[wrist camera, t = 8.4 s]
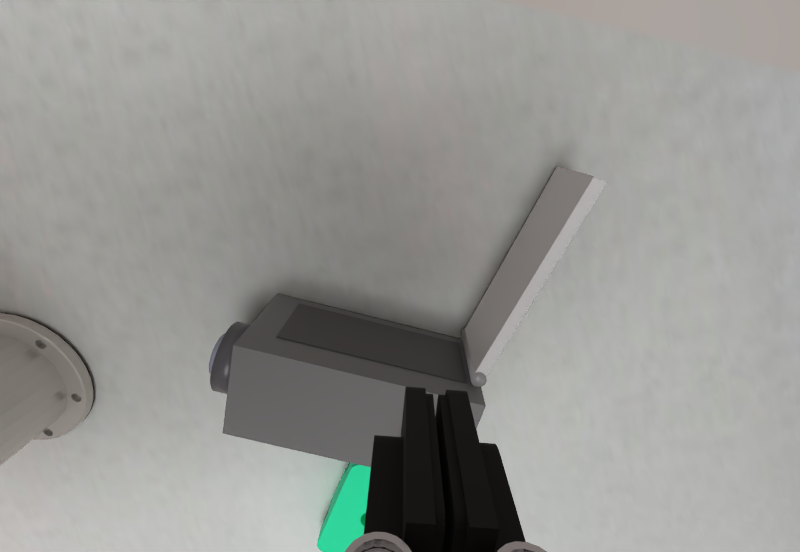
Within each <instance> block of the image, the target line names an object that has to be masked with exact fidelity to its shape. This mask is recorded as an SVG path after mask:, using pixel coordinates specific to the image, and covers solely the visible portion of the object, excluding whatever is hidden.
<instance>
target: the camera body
mask: <svg viewBox="0 0 800 552" xmlns="http://www.w3.org/2000/svg"><path fill="white" fill-rule="evenodd" d="M209 372H210V374H211V378H210V384H211V388H212V390H213V391H217V392H221V393H225V394H227V401H226V410H225V418H224V427H223V433H224V434H228V435H232V436H237V437H241V438H245V439H250V440H254V441H258V442H263V443H267V444H271V445H276V446H280V447H284V448H289V449H293V450H298V451H302V452H306V453H311V454H315V455H319V456H324V457H328V458H332V459H337V460H341V461H345V462H350V463H354V464H358V465H363V466H367V467H371V462H372V452H373V443H374V435H379V436H393V437H401V428H402V418H403V407H404V397H405V388H406V387H419V388H425V389H426V394H433V398H434V408H435V415H436V407H437V400H438V395H439V394H440V395H445V392H446V390H459V391H467V393H468V397H469V401H470V406H471V410H472V414H473V418H474V422H475V427H476V428H477V426H478V423H479V421H480V418H481V416H482V414H483V411H484V409H485V402H484V398H483V394H482V389H481V387H476V386H474V385H473V384H472V383H471V379H470V374H469V369H468V365H467V360H466V355H465V350H464V346H463V341H462V339H458V338H454V337H450V336H446V335H442V334H438V333H434V332H430V331H426V330H422V329H418V328H414V327H410V326H406V325H401V324H397V323H393V322H389V321H385V320H381V319H377V318H373V317H369V316H365V315H361V314H357V313H353V312H349V311H345V310H341V309H337V308H333V307H329V306H325V305H321V304H317V303H313V302H309V301H305V300H301V299H297V298H293V297H289V296H285V295H281V294H277V295H276V296H275V297H274V298H273V299H272V300H271V302H270V303H269V304H268V305H267V306H266V307H265V309H264V310H263V311H262V312H261V313H260V314H259V316H258V317H257V318H256V319H255V320H254V321H253V323H252V324H251V325H249V324H245V323H241V322H236V323H234V324H233V325H232V326H231V327H230V328H229V329H228V331H227V332H226V333H225V334H223V335H222V336H221V337H220V338H219V340H218V341H217V343H216V345H215V347H214V349H213V352H212V355H211V358H210V363H209Z"/></svg>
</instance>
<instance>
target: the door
mask: <svg viewBox="0 0 800 552" xmlns="http://www.w3.org/2000/svg"><path fill="white" fill-rule="evenodd" d="M606 183H607V182H605V181H603V180H601V179H599V178H597V177H594V176H591V175H587V174H583V173H580V172H576V171H572V170H568V169H565V168H561V167H557V168H556V169H555V171H554V173H553V175H552V176H551V178H550V180H549V182H548V183H547V185H546V187H545V189H544V190H543V192H542V194H541V196H540V197H539V199H538V201H537V203H536V205H535V206H534V208H533V210H532V212H531V213H530V215H529V217H528V219H527V220H526V222H525V224H524V226H523V227H522V229H521V231H520V233H519V234H518V236H517V238H516V240H515V242H514V243H513V245H512V247H511V249H510V250H509V252H508V254H507V256H506V257H505V259H504V261H503V263H502V264H501V266H500V268H499V270H498V271H497V273H496V275H495V277H494V279H493V280H492V282H491V284H490V286H489V287H488V289H487V291H486V293H485V294H484V296H483V298H482V300H481V301H480V303H479V305H478V307H477V308H476V310H475V312H474V314H473V316H472V317H471V319H470V321H469V323H468V324H467V326H466V328H464V329H462V331H461V336H462V341H463V346H464V350H465V355H466V360H467V365H468V369H469V374H470V379H471V383H472V384H473V385H474V386H476V387H481V386H483V385H485V383H486V376H487V375H488V373H489V372H490V370H491V368H492V367H493V365H494V364H495V362H496V360H497V359H498V357H499V355H500V354H501V352H502V351H503V349H504V347H505V346H506V344H507V343H508V341H509V339H510V338H511V336H512V335H513V333H514V331H515V330H516V328H517V327H518V325H519V323H520V322H521V320H522V318H523V317H524V315H525V314H526V312H527V310H528V309H529V307H530V306H531V304H532V302H533V301H534V299H535V298H536V296H537V294H538V293H539V291H540V290H541V288H542V286H543V285H544V283H545V281H546V280H547V278H548V277H549V275H550V273H551V272H552V270H553V269H554V267H555V265H556V264H557V262H558V261H559V259H560V257H561V256H562V254H563V253H564V251H565V249H566V248H567V246H568V244H569V243H570V241H571V240H572V238H573V236H574V235H575V233H576V232H577V230H578V228H579V227H580V225H581V224H582V222H583V220H584V219H585V217H586V216H587V214H588V212H589V211H590V209H591V207H592V206H593V204H594V203H595V201H596V199H597V198H598V196H599V195H600V193H601V191H602V190H603V188H604V187H605V185H606Z"/></svg>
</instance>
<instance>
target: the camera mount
mask: <svg viewBox="0 0 800 552" xmlns="http://www.w3.org/2000/svg"><path fill="white" fill-rule="evenodd" d="M370 471H371V467H367V466H363V465H358V464H354V463H350V464H349V466H348V469H345V471H344V474H343V476H342V478H341V480H340V483H339V485H338V487H337V489H336V492H335V494H334V496H333V498H332V501H331V504H330V508H329V511H328V513H327V516H326V518H325V520H324V522H323V525H322V527H321V530H320V534H319V538H318V543H317V546H318V548H319V549H320V550H321V551H322V552H345V550H346V549H347V548H348V546H349V545H350V544H351V543H352V542H353V541H354V540H355V539H357V538H359V537H360V536H362V535H364V527H365V518H366V509H367V499H368V490H369V480H370Z"/></svg>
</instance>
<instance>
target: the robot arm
mask: <svg viewBox="0 0 800 552" xmlns="http://www.w3.org/2000/svg"><path fill="white" fill-rule="evenodd" d="M92 403H93V386H92V382H91V378H90V376H89V373H88V371H87V368H86V366H85V365H84V363H83V362H82V360H81V359H80V357H79V356H78V355H77V353H76V352H75V351H74V350H73V349H72V348H71V347H70V345H68V344H67V343H66V342H65V341H64V340H63V339H62V338H60V337H59V336H58V335H57V334H55V333H53V332H52V331H50V330H49V329H47V328H46V327H44V326H42V325H40V324H38V323H36V322H34V321H31V320H29V319H26V318H22V317H19V316H16V315H10V314H4V313H0V465H2V464H3V463H4V462H5V461H6V460H8V459H9V458H10V457H11V456H13V455H14V454H15V453H16V452H18V451H19V450H20V449H21V448H23V447H24V446H25V445H26V444H28V443H29V442H30V441H31V440H33V439H51V438H57V437H59V436H62V435H65V434H67V433H68V432H70V431H71V430H73V429H74V428H75V427H77V426H78V425H79V424H80V423H81V422H82V421H83V420H84V419H85V418H86V416H87V415H88V413H89V412H90V410H91V406H92ZM345 552H546V551H545V550H543V549H542V548H540V547H539V546H536V545H533V544H530V543H528V542H525V538H524V535H523V531H522V528H521V525H520V521H519V518H518V514H517V511H516V508H515V504H514V501H513V497H512V494H511V490H510V487H509V484H508V480H507V477H506V473H505V470H504V466H503V463H502V460H501V456H500V453H499V450H498V447H497V446H496V444H490V443H479V439H478V435H477V431H476V427H475V422H474V418H473V414H472V410H471V406H470V401H469V397H468V393H467V391H459V390H446V392H445V395H440V394H439V395H438V400H437V407H436V415H435V408H434V398H433V394H426V389H425V388H419V387H406V388H405V397H404V407H403V418H402V428H401V437H393V436H379V435H374V443H373V452H372V462H371V471H370V480H369V490H368V499H367V509H366V518H365V527H364V535H362V536H360V537H359V538H357V539H355V540H354V541H353V542H352V543H351V544H350V545H349V546H348V548H347V549H346V550H345Z"/></svg>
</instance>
